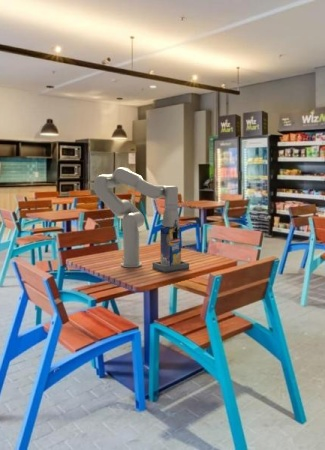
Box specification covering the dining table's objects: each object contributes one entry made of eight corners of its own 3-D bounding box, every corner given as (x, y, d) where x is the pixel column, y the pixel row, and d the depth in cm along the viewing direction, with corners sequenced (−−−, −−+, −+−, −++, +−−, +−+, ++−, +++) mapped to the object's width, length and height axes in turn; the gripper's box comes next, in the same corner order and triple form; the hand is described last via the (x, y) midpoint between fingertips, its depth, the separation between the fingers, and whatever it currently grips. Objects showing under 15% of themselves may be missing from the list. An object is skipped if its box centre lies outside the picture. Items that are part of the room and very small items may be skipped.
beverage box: (181, 263, 248) (181, 226, 245) (169, 267, 239) (170, 228, 237) (171, 262, 252) (171, 225, 249) (160, 265, 244) (160, 227, 241)
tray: (152, 268, 247) (152, 262, 246) (176, 264, 256) (176, 259, 256) (164, 272, 236) (164, 266, 236) (189, 269, 245) (189, 263, 245)
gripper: (157, 206, 247) (157, 236, 249) (174, 209, 232) (174, 240, 235) (167, 206, 251) (167, 235, 253) (185, 208, 236) (185, 239, 239)
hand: (170, 237), depth 244 cm, fingers closed on beverage box, 7 cm apart
